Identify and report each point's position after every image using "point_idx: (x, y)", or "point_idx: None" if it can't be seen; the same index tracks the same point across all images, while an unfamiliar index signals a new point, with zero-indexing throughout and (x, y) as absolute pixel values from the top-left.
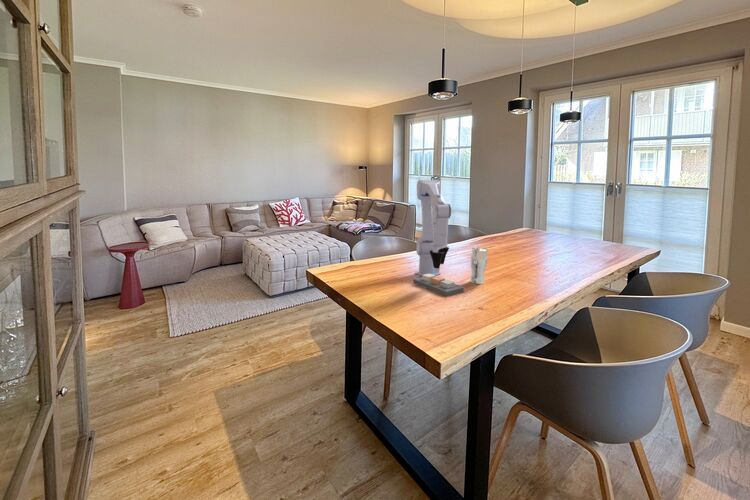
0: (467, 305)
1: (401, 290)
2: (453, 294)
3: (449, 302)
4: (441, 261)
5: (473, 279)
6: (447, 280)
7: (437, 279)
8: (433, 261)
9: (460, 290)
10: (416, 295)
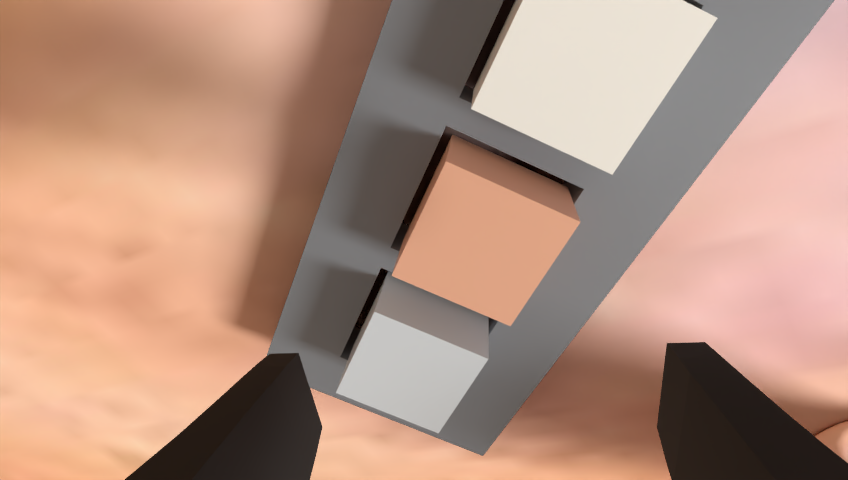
0: None
1: None
2: None
3: (181, 381)
4: (685, 453)
5: None
6: (456, 365)
7: (426, 258)
8: (157, 474)
9: None
10: (93, 94)
